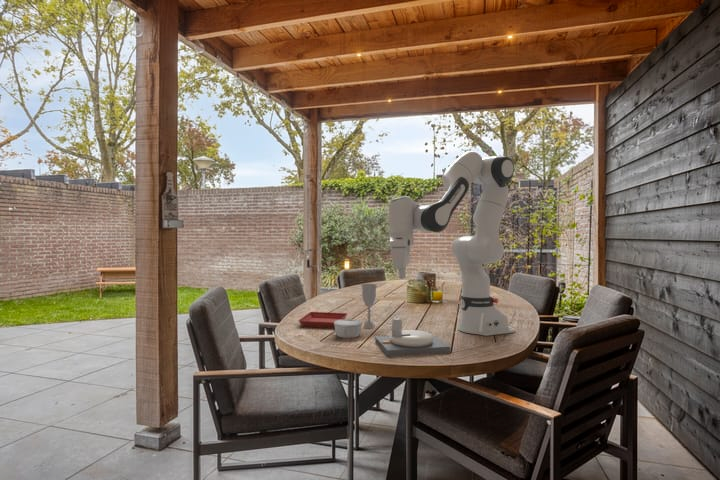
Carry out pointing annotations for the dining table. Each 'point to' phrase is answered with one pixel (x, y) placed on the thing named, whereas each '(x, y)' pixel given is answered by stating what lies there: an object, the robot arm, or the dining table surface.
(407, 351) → the dial board
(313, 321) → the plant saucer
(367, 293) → the chalice
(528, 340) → the dining table surface
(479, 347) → the dining table surface
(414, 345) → the dial
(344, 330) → the ramekin
